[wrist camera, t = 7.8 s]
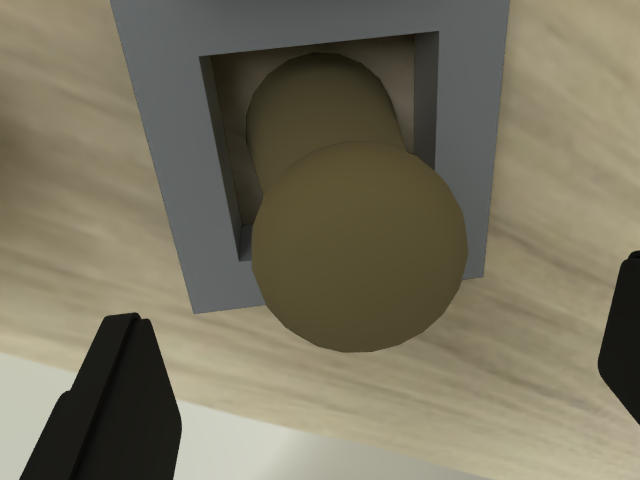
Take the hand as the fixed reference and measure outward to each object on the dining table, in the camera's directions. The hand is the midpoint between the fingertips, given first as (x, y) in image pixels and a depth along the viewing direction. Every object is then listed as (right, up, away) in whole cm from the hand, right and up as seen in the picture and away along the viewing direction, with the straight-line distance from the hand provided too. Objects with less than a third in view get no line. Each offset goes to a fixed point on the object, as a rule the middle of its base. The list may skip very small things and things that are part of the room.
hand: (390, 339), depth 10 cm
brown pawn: (-1, +6, +10) cm, 12 cm away
